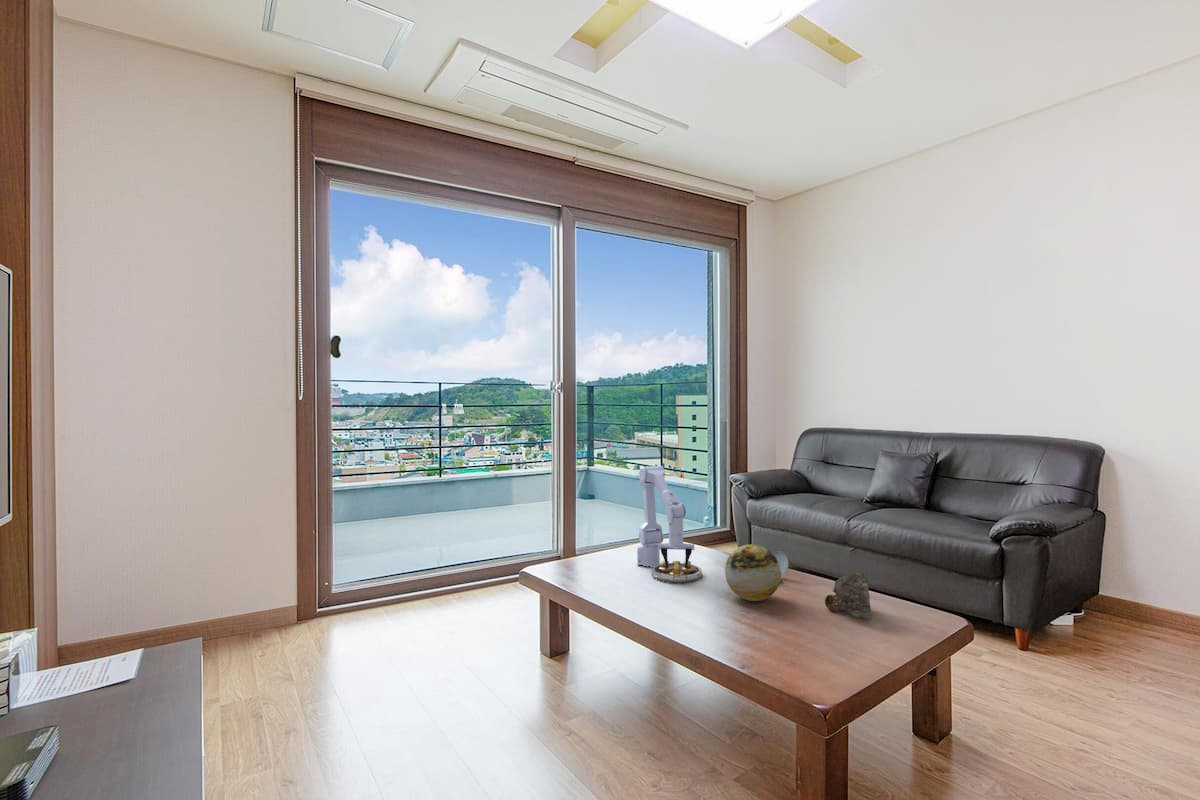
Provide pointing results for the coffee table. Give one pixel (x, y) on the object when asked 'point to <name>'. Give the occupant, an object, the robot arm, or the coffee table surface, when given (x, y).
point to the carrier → (690, 575)
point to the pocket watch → (782, 561)
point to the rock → (851, 596)
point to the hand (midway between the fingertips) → (676, 567)
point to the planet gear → (676, 569)
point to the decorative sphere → (753, 572)
